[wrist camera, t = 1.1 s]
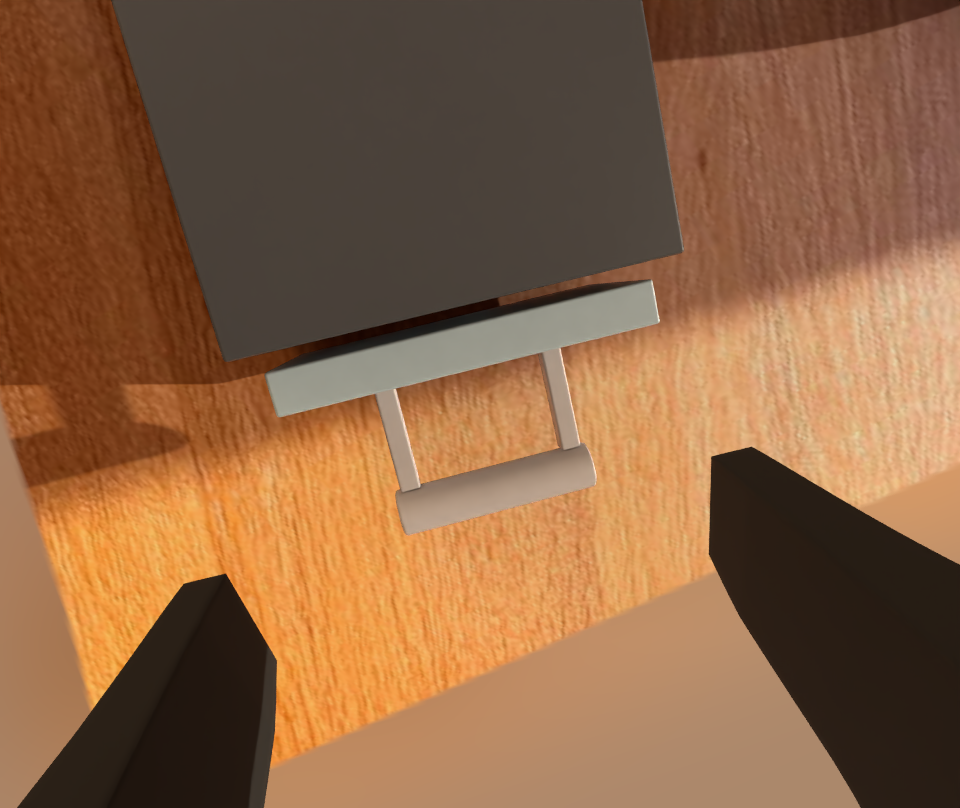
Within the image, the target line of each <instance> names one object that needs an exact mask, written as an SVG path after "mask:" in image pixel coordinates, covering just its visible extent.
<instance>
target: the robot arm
mask: <svg viewBox="0 0 960 808" xmlns="http://www.w3.org/2000/svg"><path fill="white" fill-rule="evenodd" d="M709 555H710V557H711V559H712V562H713V564H714V566H715V568H716V570H717V572H718V574H719V576H720V578H721V580H722V583H723V584H724V587H725V589H726V590H727V593H728V595H729V597H730V598H731V600H732V603H733V604H734V606H735V608H736V610H737V612H738V614H739V616H740V618H741V619H742V621H743V623H744V624H745V626H746V627H747V629H748V630H749V632H750V634H751V635H752V637H753V638H754V640H755V641H756V643H757V644H758V646H759V648H760V649H761V651H762V652H763V654H764V655H765V657H766V658H767V660H768V661H769V663H770V665H771V666H772V668H773V669H774V671H775V672H776V674H777V675H778V677H779V678H780V680H781V682H782V683H783V685H784V686H785V688H786V689H787V691H788V692H789V694H790V695H791V697H792V698H793V700H794V701H795V703H796V704H797V706H798V707H799V709H800V711H801V712H802V714H803V715H804V717H805V718H806V720H807V721H808V723H809V724H810V726H811V727H812V729H813V730H814V732H815V734H816V735H817V737H818V738H819V740H820V741H821V743H822V744H823V746H824V747H825V749H826V750H827V752H828V753H829V755H830V757H831V758H832V760H833V761H834V763H835V765H836V766H837V768H838V769H839V771H840V773H841V774H842V776H843V778H844V780H845V781H846V783H847V784H848V786H849V788H850V789H851V791H852V793H853V794H854V796H855V798H856V800H857V801H858V804H859V805H860V807H861V808H960V565H959V564H957V563H955V562H953V561H951V560H949V559H947V558H946V557H943V556H942V555H940V554H938V553H936V552H934V551H932V550H930V549H928V548H927V547H925V546H923V545H921V544H919V543H917V542H915V541H914V540H912V539H910V538H908V537H906V536H904V535H903V534H901V533H899V532H897V531H895V530H893V529H891V528H890V527H888V526H886V525H885V524H883V523H881V522H879V521H878V520H876V519H874V518H872V517H871V516H869V515H867V514H865V513H864V512H862V511H860V510H858V509H857V508H855V507H853V506H851V505H850V504H848V503H846V502H845V501H843V500H841V499H839V498H838V497H836V496H834V495H833V494H831V493H829V492H828V491H826V490H824V489H823V488H821V487H819V486H817V485H816V484H814V483H812V482H811V481H809V480H807V479H806V478H804V477H802V476H801V475H799V474H797V473H796V472H794V471H792V470H791V469H789V468H787V467H786V466H784V465H782V464H781V463H779V462H777V461H776V460H774V459H772V458H770V457H769V456H767V455H765V454H764V453H762V452H760V451H758V450H757V449H755V448H753V447H749V448H745V449H741V450H736V451H732V452H728V453H724V454H720V455H716V456H712V457H711V494H710V533H709ZM276 673H277V660H276V658H275V657H274V655H273V653H272V651H271V650H270V648H269V646H268V645H267V643H266V641H265V640H264V638H263V636H262V634H261V633H260V631H259V629H258V628H257V626H256V624H255V623H254V621H253V619H252V617H251V616H250V614H249V612H248V611H247V609H246V607H245V606H244V604H243V602H242V600H241V599H240V597H239V595H238V594H237V592H236V590H235V588H234V587H233V585H232V583H231V582H230V580H229V578H228V577H227V575H226V574H222V575H218V576H214V577H210V578H206V579H201V580H197V581H193V582H189V583H185V584H183V586H182V587H181V588H180V590H179V591H178V592H177V594H176V595H175V596H174V597H173V599H172V600H171V602H170V603H169V604H168V606H167V607H166V608H165V610H164V611H163V613H162V614H161V615H160V617H159V618H158V620H157V621H156V622H155V624H154V625H153V627H152V628H151V629H150V631H149V632H148V634H147V635H146V636H145V638H144V639H143V641H142V642H141V643H140V645H139V646H138V648H137V649H136V650H135V652H134V653H133V655H132V656H131V657H130V659H129V660H128V662H127V663H126V665H125V666H124V667H123V669H122V670H121V671H120V673H119V674H118V676H117V677H116V678H115V680H114V681H113V682H112V684H111V685H110V687H109V688H108V689H107V691H106V692H105V693H104V695H103V696H102V698H101V699H100V700H99V702H98V703H97V704H96V706H95V707H94V708H93V710H92V711H91V713H90V714H89V715H88V717H87V718H86V720H85V721H84V722H83V724H82V725H81V726H80V728H79V729H78V730H77V732H76V733H75V734H74V736H73V737H72V738H71V740H70V741H69V742H68V743H67V745H66V746H65V747H64V748H63V750H62V751H61V752H60V754H59V755H58V756H57V757H56V759H55V760H54V761H53V763H52V764H51V765H50V766H49V768H48V769H47V770H46V772H45V773H44V774H43V775H42V777H41V778H40V779H39V780H38V782H37V783H36V784H35V785H34V787H33V788H32V789H31V791H30V792H29V793H28V794H27V796H26V797H25V798H24V800H23V801H22V802H21V803H20V805H19V806H18V807H17V808H264V803H265V796H266V789H267V783H268V776H269V769H270V762H271V755H272V748H273V741H274V733H275V714H276Z"/></svg>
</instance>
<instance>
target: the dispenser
mask: <svg viewBox="0 0 960 808" xmlns="http://www.w3.org/2000/svg"><path fill="white" fill-rule="evenodd" d="M111 1H112V4H113V8H114V11H115V14H116V17H117V20H118V24H119V27H120V30H121V33H122V36H123V40H124V43H125V46H126V49H127V52H128V56H129V59H130V62H131V65H132V68H133V72H134V75H135V78H136V81H137V85H138V88H139V91H140V94H141V97H142V101H143V104H144V107H145V110H146V113H147V117H148V120H149V123H150V126H151V129H152V133H153V136H154V139H155V142H156V145H157V149H158V152H159V155H160V158H161V162H162V165H163V168H164V171H165V174H166V178H167V181H168V184H169V187H170V190H171V194H172V197H173V200H174V203H175V206H176V210H177V213H178V216H179V219H180V222H181V226H182V229H183V232H184V235H185V238H186V242H187V245H188V248H189V251H190V255H191V258H192V261H193V264H194V267H195V271H196V274H197V277H198V280H199V283H200V287H201V290H202V293H203V296H204V299H205V303H206V306H207V309H208V312H209V315H210V319H211V322H212V325H213V328H214V331H215V335H216V338H217V341H218V344H219V348H220V351H221V354H222V357H223V360H224V361H225V362H230V361H235V360H239V359H243V358H247V357H251V356H255V355H260V354H264V353H268V352H272V351H276V350H280V349H285V348H289V347H293V346H297V345H301V344H305V343H310V342H314V341H318V340H322V339H326V338H330V337H334V336H339V335H343V334H347V333H351V332H355V331H359V330H364V329H368V328H372V327H376V326H380V325H384V324H389V323H393V322H397V321H401V320H405V319H409V318H414V317H418V316H422V315H426V314H430V313H434V312H438V311H443V310H447V309H451V308H455V307H459V306H463V305H468V304H472V303H476V302H480V301H484V300H488V299H493V298H497V297H501V296H505V295H509V294H513V293H518V292H522V291H526V290H530V289H534V288H538V287H543V286H547V285H551V284H555V283H559V282H563V281H567V280H572V279H576V278H580V277H584V276H588V275H592V274H597V273H601V272H605V271H609V270H613V269H617V268H622V267H626V266H630V265H634V264H638V263H642V262H647V261H651V260H655V259H659V258H663V257H667V256H671V255H676V254H680V253H682V252H683V251H684V246H683V240H682V234H681V228H680V222H679V216H678V210H677V204H676V199H675V193H674V187H673V181H672V175H671V169H670V163H669V157H668V151H667V145H666V139H665V133H664V127H663V121H662V116H661V110H660V104H659V98H658V92H657V86H656V80H655V74H654V68H653V62H652V56H651V50H650V44H649V38H648V33H647V27H646V21H645V15H644V9H643V3H642V0H111Z"/></svg>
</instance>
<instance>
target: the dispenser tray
mask: <svg viewBox="0 0 960 808" xmlns="http://www.w3.org/2000/svg"><path fill="white" fill-rule="evenodd" d="M658 323H659V315H658V309H657V304H656V298H655V293H654V287H653V282H652V280H638V281H626V282H615V283H603V284H592V285H586V286H582V287H578V288H574V289H570V290H565V291H561V292H557V293H553V294H549V295H545V296H541V297H536V298H532V299H528V300H524V301H520V302H516V303H512V304H507V305H503V306H499V307H495V308H491V309H487V310H483V311H478V312H474V313H470V314H466V315H462V316H458V317H454V318H449V319H445V320H441V321H437V322H433V323H429V324H425V325H420V326H416V327H412V328H408V329H404V330H400V331H396V332H391V333H387V334H383V335H379V336H375V337H371V338H367V339H362V340H358V341H354V342H350V343H346V344H342V345H338V346H333V347H329V348H325V349H321V350H317V351H313V352H309V353H304V354H302V355H300V356H298V357H296V358H294V359H292V360H290V361H288V362H286V363H284V364H282V365H280V366H278V367H276V368H274V369H272V370H270V371H268V372H267V373H265V379H266V382H267V385H268V389H269V392H270V395H271V399H272V402H273V405H274V409H275V412H276V415H277V416H278V417H283V416H287V415H291V414H295V413H299V412H303V411H307V410H311V409H315V408H320V407H324V406H328V405H332V404H336V403H340V402H344V401H348V400H352V399H356V398H360V397H364V396H368V395H372V394H375V397H376V401H377V405H378V408H379V412H380V416H381V419H382V423H383V427H384V431H385V434H386V438H387V442H388V445H389V449H390V453H391V457H392V460H393V464H394V468H395V471H396V475H397V479H398V483H399V486H400V490H397V491H396V494H395V496H396V503H397V508H398V513H399V517H400V521H401V524H402V527H403V530H404V532H405V534H406V535H412V534H416V533H419V532H423V531H427V530H431V529H435V528H438V527H442V526H446V525H450V524H453V523H457V522H461V521H465V520H469V519H472V518H476V517H480V516H484V515H487V514H491V513H495V512H499V511H503V510H506V509H510V508H514V507H518V506H522V505H525V504H529V503H533V502H537V501H540V500H544V499H548V498H552V497H556V496H559V495H563V494H567V493H571V492H574V491H578V490H582V489H586V488H590V487H593V486H595V485H596V470H595V466H594V462H593V459H592V456H591V453H590V451H589V449H588V447H587V446H586V445H585V443H580V440H579V435H578V430H577V425H576V421H575V416H574V411H573V406H572V402H571V397H570V392H569V387H568V383H567V378H566V373H565V368H564V364H563V359H562V354H561V349H560V348H562V347H566V346H570V345H574V344H578V343H582V342H586V341H590V340H594V339H598V338H602V337H606V336H610V335H614V334H618V333H622V332H626V331H630V330H634V329H638V328H642V327H646V326H650V325H654V324H658ZM537 353H538V356H539V360H540V365H541V369H542V374H543V379H544V383H545V388H546V392H547V397H548V402H549V406H550V411H551V415H552V420H553V425H554V429H555V434H556V438H557V443H558V446H559V447H560V448H558V449H554V450H551V451H547V452H543V453H539V454H535V455H531V456H527V457H524V458H520V459H516V460H512V461H508V462H504V463H500V464H497V465H493V466H489V467H485V468H481V469H477V470H473V471H470V472H466V473H462V474H458V475H454V476H450V477H446V478H443V479H439V480H435V481H431V482H427V483H423V484H420V479H419V475H418V471H417V468H416V464H415V460H414V456H413V452H412V449H411V445H410V441H409V437H408V433H407V430H406V426H405V422H404V418H403V414H402V410H401V407H400V403H399V399H398V395H397V391H396V388H400V387H404V386H408V385H412V384H416V383H420V382H424V381H428V380H432V379H437V378H441V377H445V376H449V375H453V374H457V373H461V372H465V371H469V370H473V369H477V368H481V367H485V366H489V365H493V364H497V363H501V362H505V361H509V360H513V359H517V358H521V357H525V356H529V355H533V354H537Z"/></svg>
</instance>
